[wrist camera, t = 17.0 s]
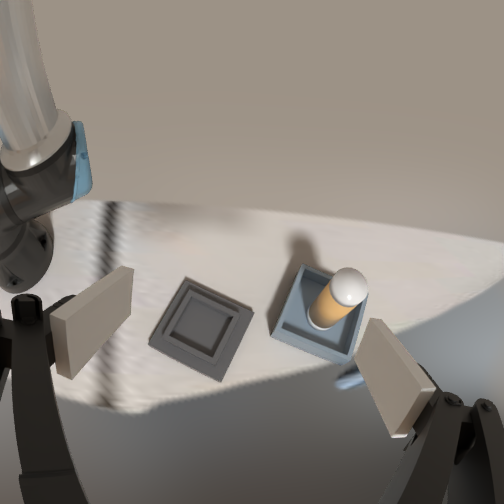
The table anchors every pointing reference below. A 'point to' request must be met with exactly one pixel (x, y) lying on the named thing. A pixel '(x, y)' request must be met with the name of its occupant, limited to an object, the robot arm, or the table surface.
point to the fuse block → (201, 330)
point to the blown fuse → (337, 299)
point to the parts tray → (302, 334)
